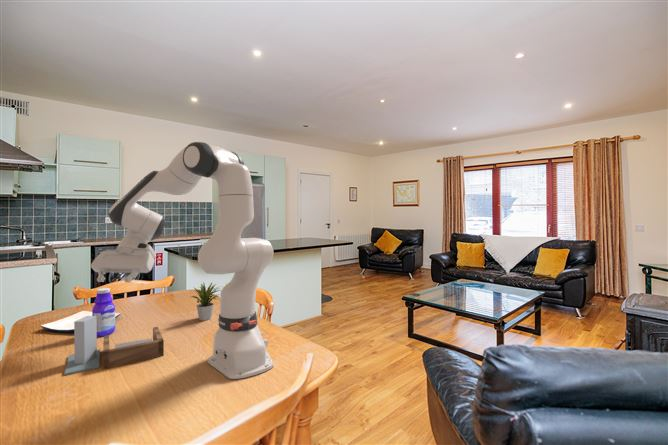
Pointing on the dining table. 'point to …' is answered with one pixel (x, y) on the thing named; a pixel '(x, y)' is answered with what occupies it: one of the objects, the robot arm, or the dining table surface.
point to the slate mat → (76, 368)
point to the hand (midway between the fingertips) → (113, 281)
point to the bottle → (104, 312)
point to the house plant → (205, 301)
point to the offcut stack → (132, 343)
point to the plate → (68, 322)
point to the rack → (133, 351)
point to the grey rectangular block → (85, 339)
